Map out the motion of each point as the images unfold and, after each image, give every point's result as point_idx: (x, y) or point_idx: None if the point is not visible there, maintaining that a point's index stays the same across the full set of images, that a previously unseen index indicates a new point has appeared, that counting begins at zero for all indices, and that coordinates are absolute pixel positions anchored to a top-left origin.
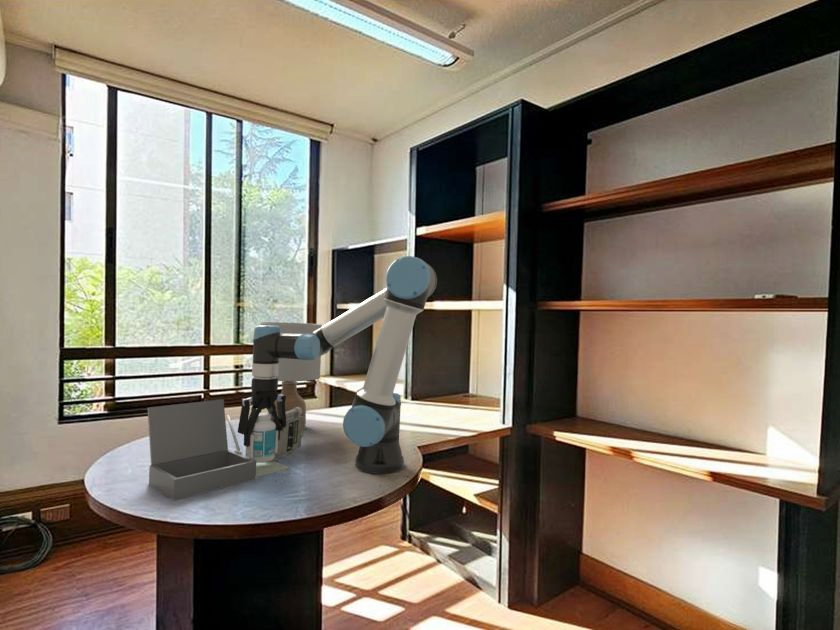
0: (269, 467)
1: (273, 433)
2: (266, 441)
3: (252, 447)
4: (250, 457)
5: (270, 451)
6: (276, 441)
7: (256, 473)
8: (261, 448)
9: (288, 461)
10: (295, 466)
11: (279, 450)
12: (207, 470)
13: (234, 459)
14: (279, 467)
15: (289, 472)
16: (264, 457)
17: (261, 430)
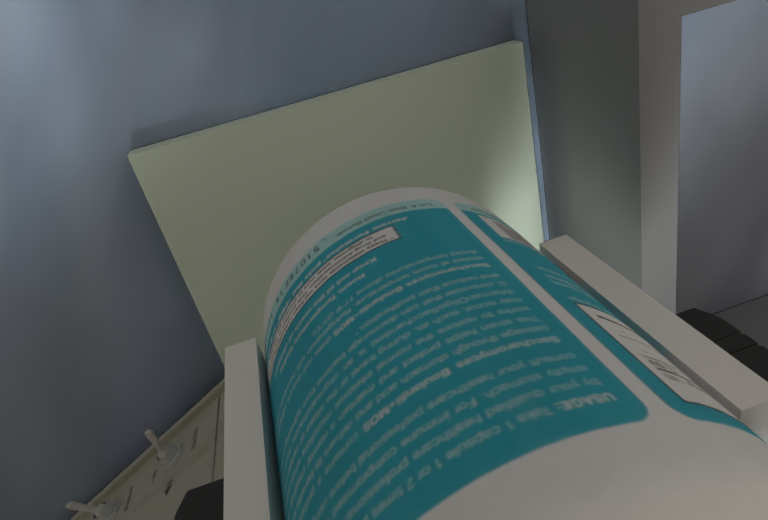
0: (320, 213)
1: (390, 445)
2: (503, 293)
3: (622, 295)
4: (571, 239)
5: (370, 241)
6: (248, 439)
7: (489, 83)
8: (519, 253)
9: (74, 371)
10: (24, 196)
11: (147, 504)
12: (727, 319)
13: None
14: (226, 169)
15: (139, 16)
16: (433, 198)
17: (739, 439)
